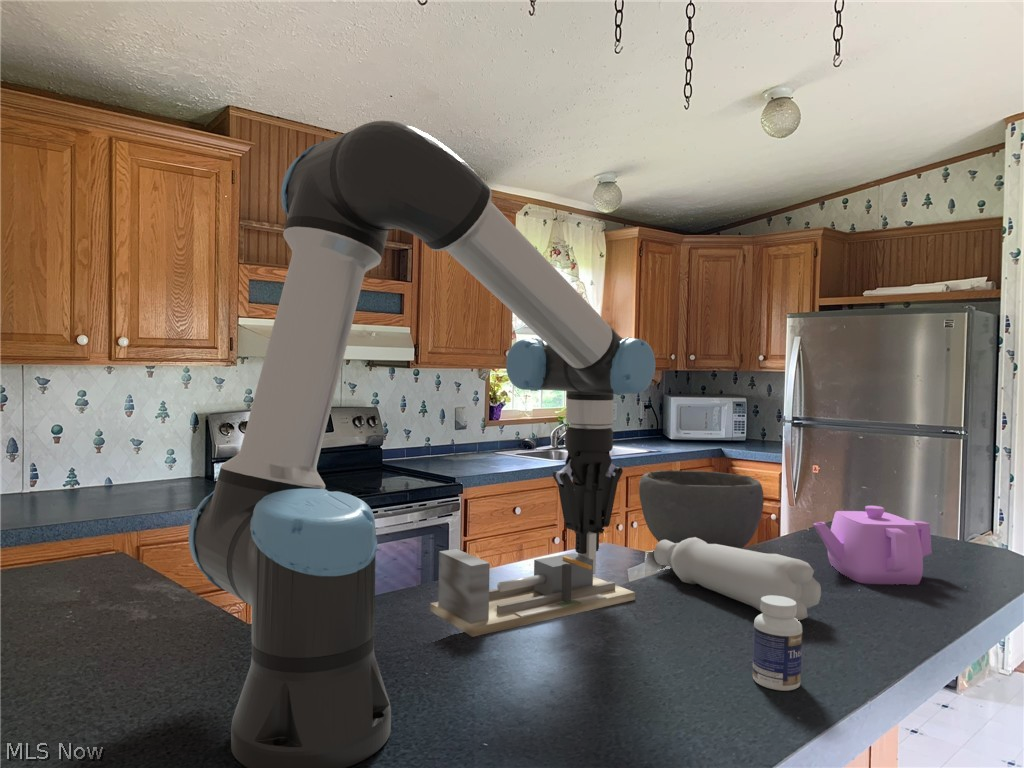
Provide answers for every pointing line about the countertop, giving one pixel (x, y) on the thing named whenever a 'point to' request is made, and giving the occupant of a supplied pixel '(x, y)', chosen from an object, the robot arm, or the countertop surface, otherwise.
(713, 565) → the bottle
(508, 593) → the bench vise
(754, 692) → the countertop surface
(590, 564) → the sliding vise jaw
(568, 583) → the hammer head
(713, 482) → the bowl
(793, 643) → the pill bottle
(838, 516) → the teakettle
